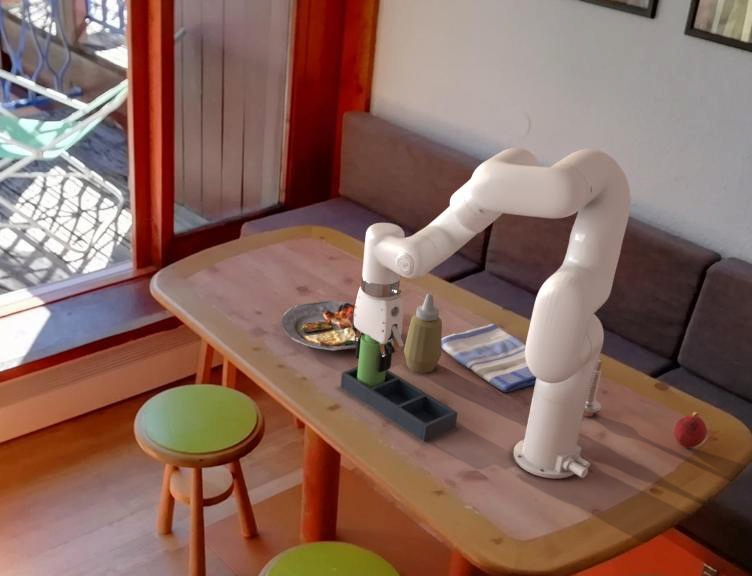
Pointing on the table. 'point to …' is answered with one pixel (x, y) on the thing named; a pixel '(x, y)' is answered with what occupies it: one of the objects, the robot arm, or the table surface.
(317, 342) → the food plate
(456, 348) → the dish towel
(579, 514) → the table surface
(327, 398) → the table surface
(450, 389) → the table surface
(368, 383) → the bottle
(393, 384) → the tray
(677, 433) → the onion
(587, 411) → the screw
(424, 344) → the squeeze bottle
